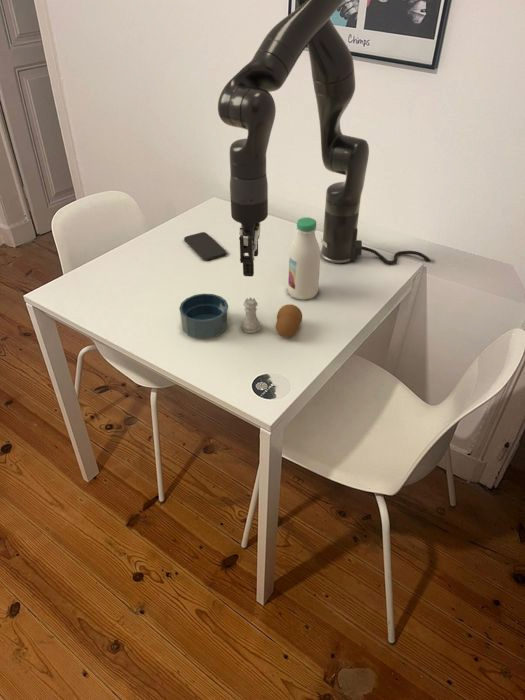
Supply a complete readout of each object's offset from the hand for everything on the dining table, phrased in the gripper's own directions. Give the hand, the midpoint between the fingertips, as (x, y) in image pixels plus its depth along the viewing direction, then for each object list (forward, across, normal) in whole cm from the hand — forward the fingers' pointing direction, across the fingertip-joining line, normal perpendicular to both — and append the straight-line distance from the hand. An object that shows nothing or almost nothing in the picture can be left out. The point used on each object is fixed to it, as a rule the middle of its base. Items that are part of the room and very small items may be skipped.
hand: (251, 265), depth 117 cm
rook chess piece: (+17, -2, 0) cm, 17 cm away
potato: (+16, -2, -9) cm, 19 cm away
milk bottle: (+17, +15, -11) cm, 26 cm away
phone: (+17, +36, +19) cm, 44 cm away
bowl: (+16, -2, +11) cm, 20 cm away
